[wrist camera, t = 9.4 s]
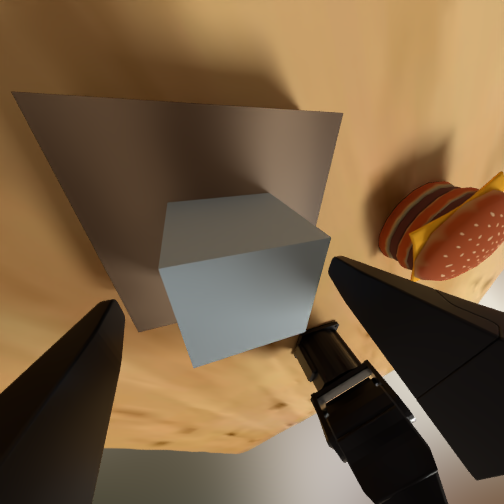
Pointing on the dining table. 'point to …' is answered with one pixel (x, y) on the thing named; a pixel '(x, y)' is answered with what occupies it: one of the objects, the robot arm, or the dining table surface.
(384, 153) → the dining table surface
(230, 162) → the walnut block
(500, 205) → the hamburger
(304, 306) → the slate cube
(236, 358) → the dining table surface
